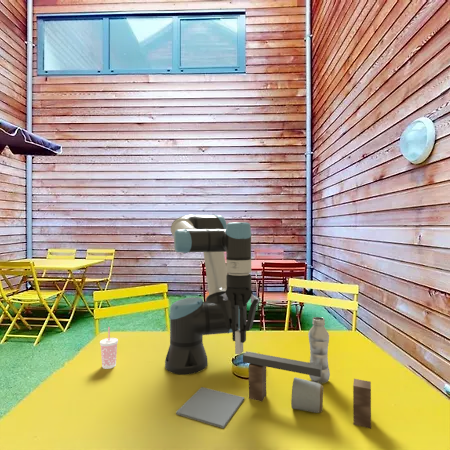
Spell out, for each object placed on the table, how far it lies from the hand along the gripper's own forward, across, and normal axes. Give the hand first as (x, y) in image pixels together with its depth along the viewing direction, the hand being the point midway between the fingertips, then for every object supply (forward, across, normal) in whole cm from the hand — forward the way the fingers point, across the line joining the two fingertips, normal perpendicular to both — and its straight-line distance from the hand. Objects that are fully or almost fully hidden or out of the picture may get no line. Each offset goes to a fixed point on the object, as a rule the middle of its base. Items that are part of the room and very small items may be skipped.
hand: (239, 352), depth 93 cm
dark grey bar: (+2, +13, 0) cm, 13 cm away
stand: (+12, +20, +1) cm, 23 cm away
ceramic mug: (+13, +19, +2) cm, 23 cm away
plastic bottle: (+12, +20, +18) cm, 30 cm away
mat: (+12, -4, -10) cm, 16 cm away
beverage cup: (+12, -49, -3) cm, 51 cm away
